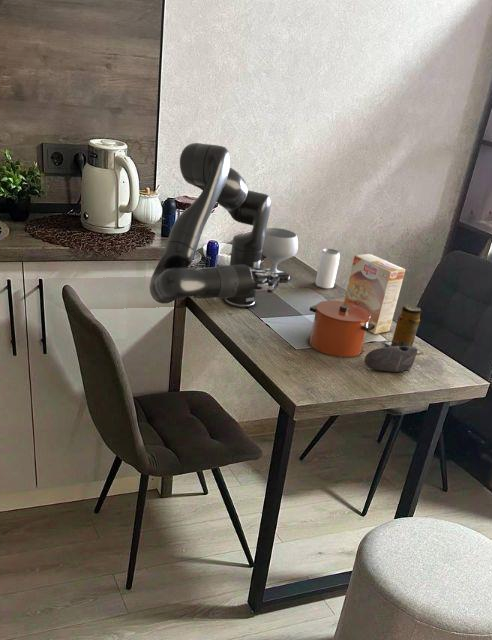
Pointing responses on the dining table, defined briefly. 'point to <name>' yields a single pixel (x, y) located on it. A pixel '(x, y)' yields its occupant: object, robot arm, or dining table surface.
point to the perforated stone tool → (391, 358)
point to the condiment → (406, 327)
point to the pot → (339, 328)
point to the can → (327, 268)
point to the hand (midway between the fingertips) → (286, 277)
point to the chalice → (279, 246)
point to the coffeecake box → (375, 289)
